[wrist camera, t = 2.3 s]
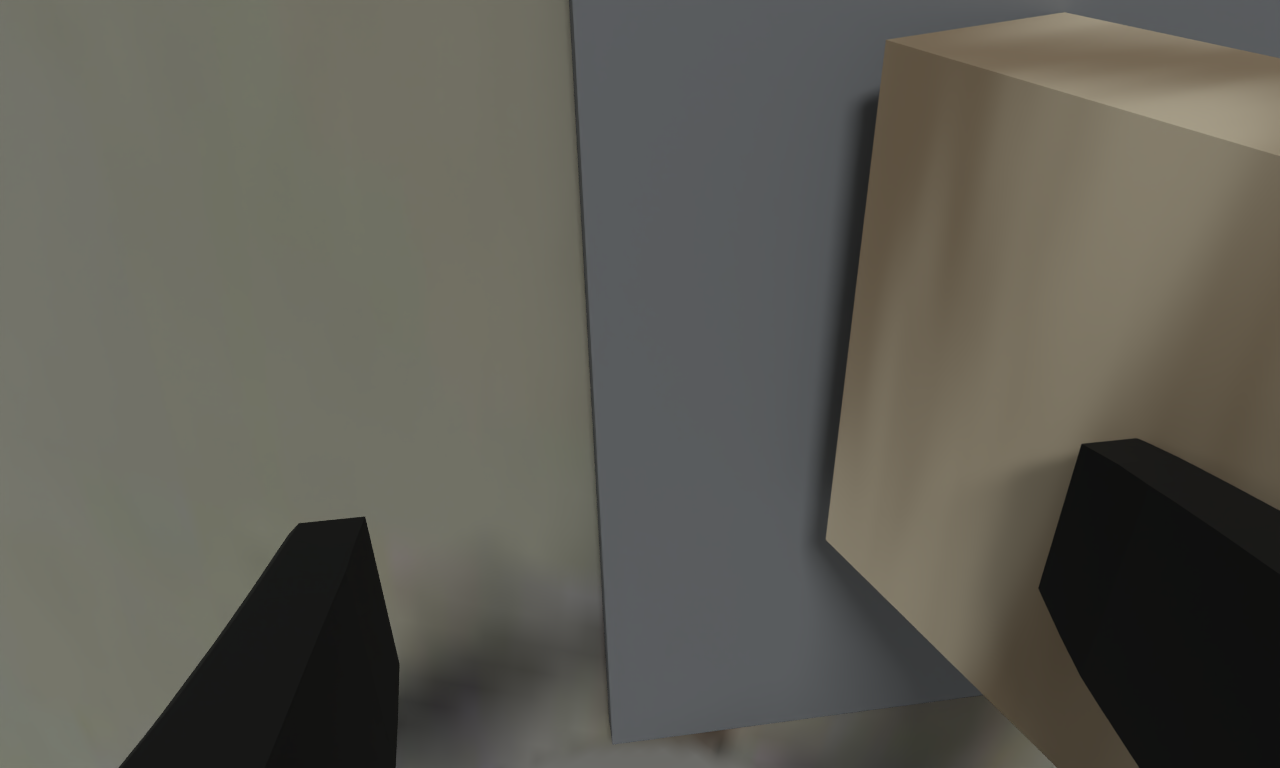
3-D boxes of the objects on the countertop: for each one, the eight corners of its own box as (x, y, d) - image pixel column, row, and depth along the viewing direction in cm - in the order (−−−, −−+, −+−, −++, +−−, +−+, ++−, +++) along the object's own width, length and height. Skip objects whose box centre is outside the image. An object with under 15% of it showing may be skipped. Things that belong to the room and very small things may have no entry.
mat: (2089, -593, 11) (2167, -611, 10) (1377, 620, 22) (1398, 639, 21) (532, -636, 9) (537, -662, 8) (609, 719, 20) (612, 744, 19)
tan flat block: (1065, 11, 12) (2020, 217, 6) (961, 485, 17) (1467, 874, 11) (885, 39, 11) (1841, 322, 5) (825, 539, 15) (1304, 1011, 9)
